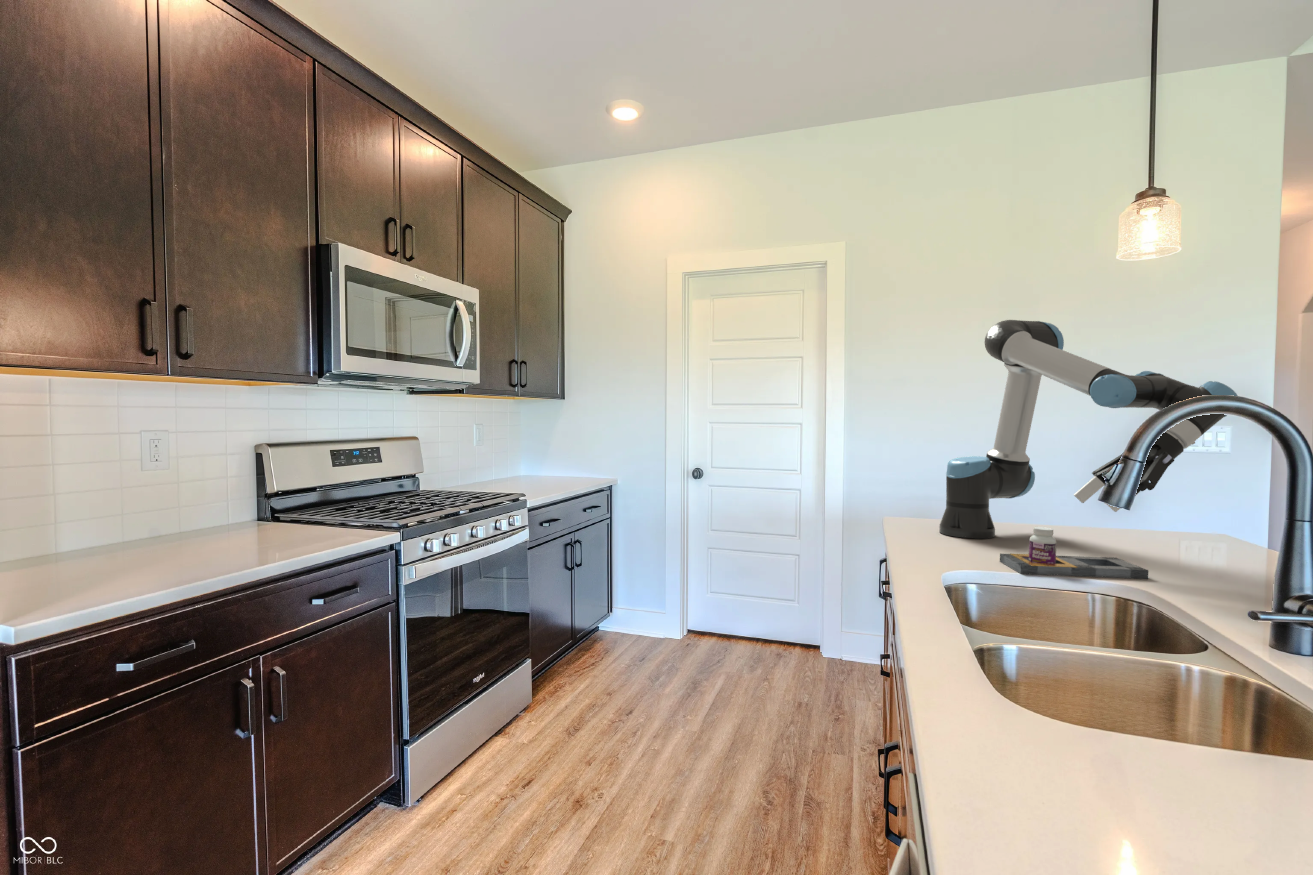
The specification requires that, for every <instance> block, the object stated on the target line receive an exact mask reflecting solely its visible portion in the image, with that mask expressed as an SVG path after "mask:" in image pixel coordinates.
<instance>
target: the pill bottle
mask: <svg viewBox="0 0 1313 875" xmlns="http://www.w3.org/2000/svg"><path fill="white" fill-rule="evenodd" d="M1032 530H1033V531H1032V533H1033V535H1031V536H1030V537H1029V540H1028V541H1029V545H1028V554H1029V561H1030V562H1032V563H1050V564H1056V556H1057V540H1056V538H1055V537H1053V535H1054V529H1053V528H1050V527H1045V526H1034V527H1033V528H1032Z"/></svg>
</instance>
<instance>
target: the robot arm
mask: <svg viewBox="0 0 1313 875" xmlns="http://www.w3.org/2000/svg"><path fill="white" fill-rule="evenodd" d="M1064 342H1065V341H1064V335H1063V333H1062V332H1061V331H1060V329H1059V327H1057V325H1055V324H1052V323H1051V322H1046V321H1040V320H1022V319H1021V320H1020V319H1019V320H1017V319H1005V320H1001V321H998V322H997V323H995V324H994V325H992V326H991V327H990V328H989V329H988V331H987V333H986V334H985V337H984V347H985V351H986V352H987V353H988V354H989V356H990V357H992V358H994V359H996V360H998V361H1000V362H1003V363H1004V364H1003V366H1004V367H1005V368H1006V370H1007V371H1008V373H1007V377H1006V383H1005V388H1004V394H1003V399H1002V403H1001V409H1000V414H999V419H998V425H997V429H996V435H995V439H994V444H993V447H992V448H991V449H989V450H988V451H986V456H980V455H977V456H974V455H973V456H962V457H957V458H952V459H951V460H949V461H948V462H947V465H946V472H945V476H946V480H945V481H946V492H945V493H946V494H945V496H946V497H945V498H946V499H945V500H946V501H945V503H946V504H945V510H944V511H943V515H942V517H941V520H940V523H939V526H938V528H939V534H942V535H946V536H951V537H955V538H964V539H977V540H978V539H979V540H980V539H991V538H994V537H996V527H995V525H994V521H993V519H992V515H991V512H990V500H991V499H995V500H996V499H1015V498H1019V497H1023V496H1024V495H1026V494H1028V493H1029V492H1030V491H1031V490H1032V488H1033V486H1034V484H1035V480H1036V479H1035V478H1036V474H1035V471H1034V470H1033V466H1032V464H1030V461H1031V460H1030V457H1029V456H1028V455H1027V453H1026V451H1027V446H1028V442H1029V437H1030V431H1031V428H1032V422H1033V418H1034V413H1035V408H1036V404H1037V398H1038V394H1039V391H1040V390H1039V389H1040V385H1041V380H1042V376H1043V377H1047V378H1049V379H1050V380H1053V381H1055V382H1057V383H1060V384H1062V385H1064V386H1067V387H1069V388H1071V389H1074V390H1075V391H1078V392H1081V393H1082V394H1085V395H1086V396H1087V395H1088V396H1089V397H1090V398H1091V399H1092V401H1093V402H1094V404H1096V405H1098V406H1100V407H1104V408H1111V409H1121V408H1127V409H1128V408H1132V409H1133V408H1138V409H1139V408H1140V409H1143V408H1144V409H1146V408H1149V409H1156V410H1159V411H1161V410H1162V409H1163V408H1165V407H1168V406H1169V405H1171V404H1174V403H1176V402H1179V401H1183V400H1186V399H1189V398H1193V397H1197V396H1202V395H1234V396H1238V394H1237V392H1236V391H1235V390H1234V389H1232V388H1231V387H1230V386H1228V385H1226V384H1224V383H1222V382H1219V381H1215V380H1214V381H1212V380H1210V381H1206V382H1205V383H1203V384H1200V386H1195V385H1190V384H1188V383H1184V382H1183V381H1179V380H1176V379H1174V378H1171V377H1169V376H1166V375H1164V374H1162V373H1157V372H1153V371H1150V370H1142V371H1141V372H1139V373H1136V374H1135V375H1132V374H1131V375H1130V374H1129V375H1128V374H1126V373H1122V372H1120V371H1117V370H1115V369H1112V368H1110V367H1107V366H1104V365H1101V364H1099V363H1097V362H1094V361H1092V360H1090V359H1086V358H1084V357H1081V356H1079V355H1077V354H1073V353H1072V352H1069V351H1065V350H1064V347H1065V346H1064V345H1065V343H1064ZM1238 397H1239V396H1238ZM1227 416H1228V414H1227V415H1224V414H1210V415H1202V416H1196V417H1193V418H1190V419H1186V420H1184V421H1182V422H1180V423H1179V424H1176V425H1175V426H1174V427H1172V428H1170V429H1169V430H1167V431H1166V432H1165V433H1163V434H1162V436H1160V438H1159V439H1157V441H1156V442H1155V444H1154V445H1153V446H1152V448H1151V450H1150V452H1149V455H1148V457H1147V460H1146V464H1145V467H1144V470H1143V474H1142V477H1141V480H1140V484H1139V487H1138V489H1137V493H1136V495H1135V497H1136V496H1137V495H1138V494H1139V493H1141V492H1144V491H1146V490H1148V491H1152V490H1154V489H1155V488H1156V486H1157V484H1158V482H1159V481H1160V480H1161V479H1162V476H1163V475H1164V473H1165V472H1166V470H1167V469H1168V468H1169V467H1170V466H1171V465H1172V464H1173V463H1174V462H1175V459H1176V458H1178V456H1180V455H1181V454H1182V453H1183V452H1184V449H1187V448H1189V447H1190V446H1192V445H1194V444H1196V441H1197V440H1199V438H1201V436H1203V435H1204V434H1205V433H1206V432H1207V431H1208V430H1210V429H1211V428H1212V427H1214V426H1215V425H1216V424H1217V423H1218V422H1220V421H1221V420H1222V419H1223V418H1225V417H1227ZM1122 454H1123V453H1122ZM1122 454H1120V455H1118V456H1117V457H1115V458H1113V459H1112V460H1110V461H1108V462H1106V463H1105V464H1103V465H1102V466H1100V467H1098V468H1097V469H1095V470H1093V471H1092V472H1091V474H1092V475H1093V477H1092V478H1091V479H1089V480H1088V482H1086V483H1085V484H1083V486H1082V487H1081V488H1079V489H1078V490H1077V491H1076V492H1074V493H1073V496H1074V497H1075V498H1076V499H1077V500H1078V501H1079V502H1080V503H1081V504H1084V503H1085V502H1086V501H1088V500H1089V499H1090V498H1091V497H1093V495H1095V494H1096V493H1097V492H1098V491H1099V490H1101V488H1102V487H1104V486H1107V482H1106V483H1105V480H1104V478H1103V477H1102V473H1104V472H1106V471H1107V470H1108V469H1109V468H1110V467H1111V466H1113V465H1114V464H1116V463H1118V462H1119V460H1120V458H1121V456H1122ZM1106 505H1107V507H1109V508H1110V510H1112V511H1113V512H1114V513H1117V512H1118V511H1119V510H1121V508H1117V507H1113V506H1110V505H1108V504H1106Z"/></svg>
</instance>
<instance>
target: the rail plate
mask: <svg viewBox="0 0 1313 875" xmlns="http://www.w3.org/2000/svg"><path fill="white" fill-rule="evenodd" d="M999 562H1000V563H1002V564H1003V565H1005V566H1007V567H1008V568H1010V569H1012V570H1014V571H1015V572H1016V573H1019V574H1021V575H1036V576H1037V575H1041V576H1062V577H1063V576H1064V577H1083V578H1084V577H1085V578H1086V577H1087V578H1109V579H1110V578H1112V579H1134V580H1135V579H1136V580H1138V579H1140V580H1148V579H1149V569H1147V568H1144V567H1141V566H1139V565H1137V564H1134V563H1131V562H1129V561H1126V560H1123V559H1121V558H1118V557H1110V556H1109V557H1108V556H1107V557H1106V556H1080V555H1079V556H1078V555H1077V556H1076V555H1056V564H1050V563H1032V562H1030V561H1029V553H999Z"/></svg>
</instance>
